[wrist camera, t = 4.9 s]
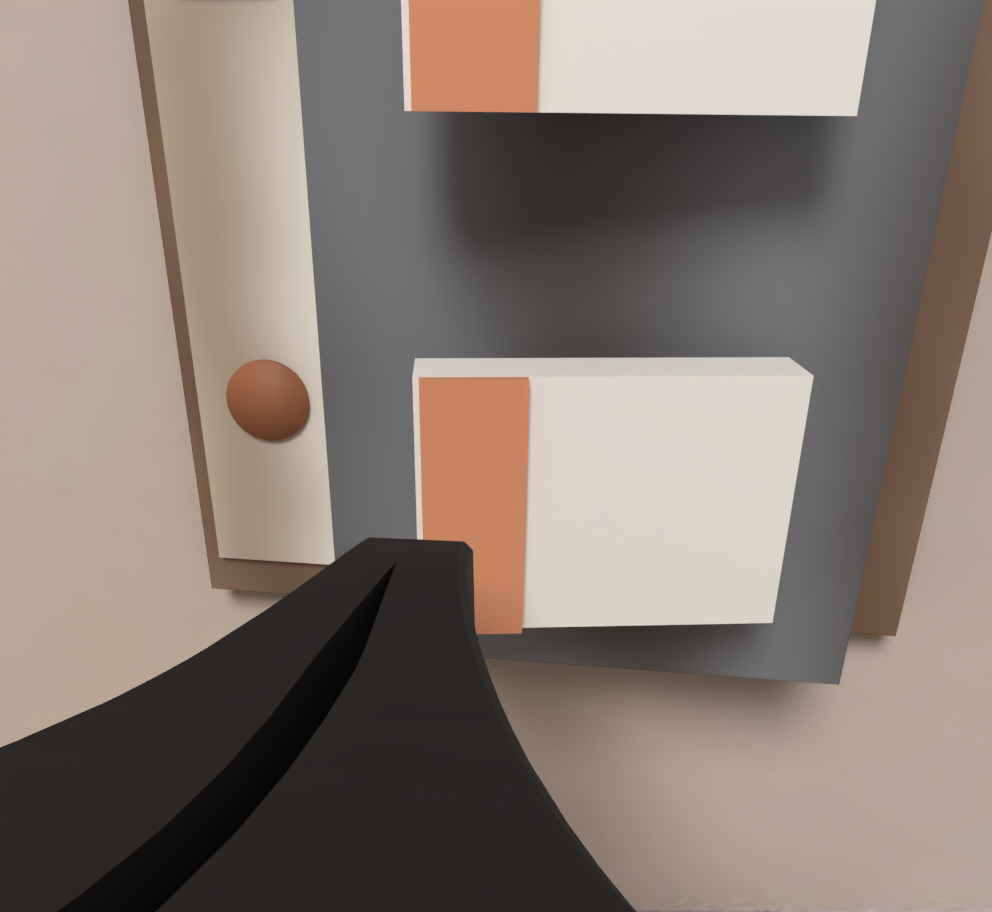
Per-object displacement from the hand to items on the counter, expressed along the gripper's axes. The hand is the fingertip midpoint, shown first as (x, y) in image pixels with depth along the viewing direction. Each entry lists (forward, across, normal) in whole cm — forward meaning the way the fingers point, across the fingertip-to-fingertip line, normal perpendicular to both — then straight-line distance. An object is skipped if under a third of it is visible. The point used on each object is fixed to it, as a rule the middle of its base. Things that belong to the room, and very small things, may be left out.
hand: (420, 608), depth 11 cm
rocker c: (+4, -2, 0) cm, 5 cm away
